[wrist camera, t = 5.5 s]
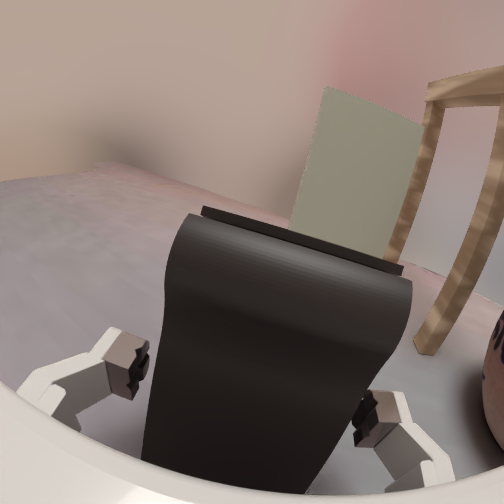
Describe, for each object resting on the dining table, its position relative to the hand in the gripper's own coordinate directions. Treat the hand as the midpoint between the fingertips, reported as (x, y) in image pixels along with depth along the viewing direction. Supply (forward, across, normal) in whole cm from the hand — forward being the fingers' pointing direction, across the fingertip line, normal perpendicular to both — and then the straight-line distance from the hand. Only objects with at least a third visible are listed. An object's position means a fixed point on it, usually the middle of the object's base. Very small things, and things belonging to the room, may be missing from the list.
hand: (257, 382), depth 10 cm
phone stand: (0, 0, -7) cm, 7 cm away
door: (+27, +8, -6) cm, 29 cm away
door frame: (+21, +17, -6) cm, 28 cm away
